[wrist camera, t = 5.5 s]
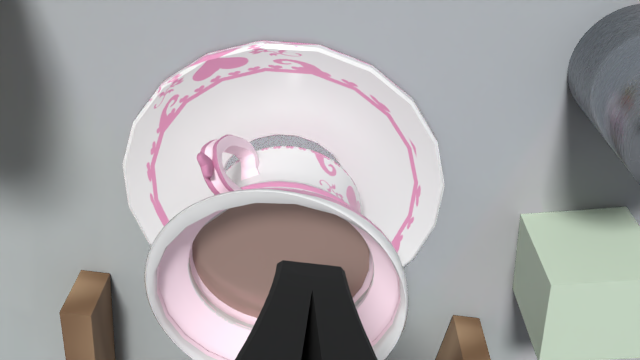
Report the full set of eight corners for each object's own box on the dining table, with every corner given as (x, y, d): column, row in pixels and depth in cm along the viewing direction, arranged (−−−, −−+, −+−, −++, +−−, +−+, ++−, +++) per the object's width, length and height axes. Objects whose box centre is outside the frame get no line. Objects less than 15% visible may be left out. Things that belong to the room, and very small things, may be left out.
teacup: (478, 251, 24) (517, 377, 19) (222, 327, 27) (196, 454, 22) (378, -22, 18) (395, 55, 13) (61, 112, 21) (-26, 218, 16)
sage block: (625, 205, 23) (675, 277, 20) (608, 281, 25) (649, 357, 22) (520, 212, 23) (551, 285, 20) (512, 286, 25) (538, 363, 22)
